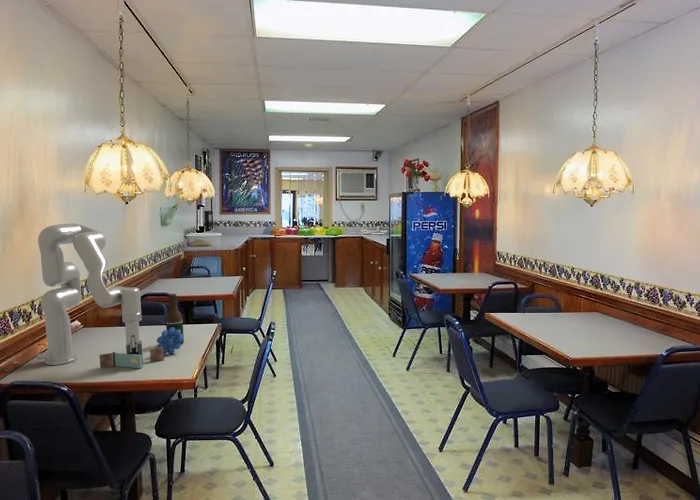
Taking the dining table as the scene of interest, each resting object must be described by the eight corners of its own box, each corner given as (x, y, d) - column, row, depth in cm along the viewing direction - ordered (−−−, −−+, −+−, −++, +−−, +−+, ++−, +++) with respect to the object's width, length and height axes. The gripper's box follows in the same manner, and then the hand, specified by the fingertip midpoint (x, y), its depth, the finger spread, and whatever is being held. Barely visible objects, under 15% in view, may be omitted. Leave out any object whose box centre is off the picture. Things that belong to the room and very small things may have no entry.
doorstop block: (127, 366, 226) (126, 345, 225) (127, 362, 231) (126, 342, 230) (142, 364, 228) (141, 343, 227) (142, 360, 233) (141, 340, 232)
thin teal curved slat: (115, 366, 226) (114, 353, 226) (117, 365, 227) (116, 352, 227) (140, 368, 222) (139, 355, 222) (142, 367, 223) (141, 355, 223)
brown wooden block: (100, 368, 225) (99, 354, 224) (100, 367, 226) (99, 353, 225) (164, 360, 233) (163, 346, 233) (163, 359, 234) (163, 346, 234)
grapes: (182, 349, 248) (181, 324, 247) (185, 353, 242) (183, 327, 241) (155, 353, 243) (154, 327, 242) (157, 357, 237) (155, 330, 236)
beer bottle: (179, 346, 254) (175, 295, 252) (164, 345, 256) (160, 295, 253) (187, 341, 262) (184, 292, 259) (172, 341, 263) (169, 292, 261)
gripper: (122, 313, 234) (125, 355, 236) (121, 322, 218) (124, 366, 220) (141, 312, 237) (143, 352, 239) (141, 320, 221) (144, 364, 223)
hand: (134, 358), depth 229 cm, fingers closed on doorstop block, 5 cm apart
